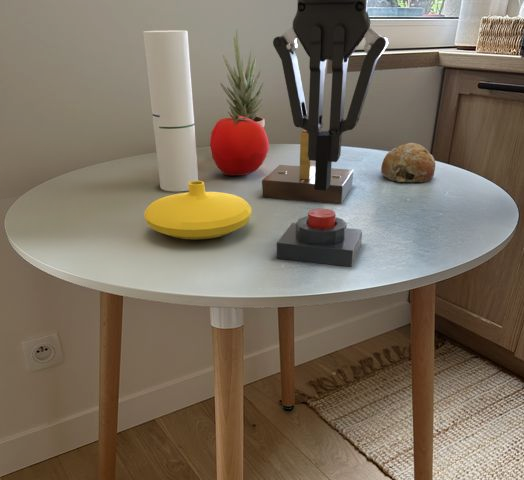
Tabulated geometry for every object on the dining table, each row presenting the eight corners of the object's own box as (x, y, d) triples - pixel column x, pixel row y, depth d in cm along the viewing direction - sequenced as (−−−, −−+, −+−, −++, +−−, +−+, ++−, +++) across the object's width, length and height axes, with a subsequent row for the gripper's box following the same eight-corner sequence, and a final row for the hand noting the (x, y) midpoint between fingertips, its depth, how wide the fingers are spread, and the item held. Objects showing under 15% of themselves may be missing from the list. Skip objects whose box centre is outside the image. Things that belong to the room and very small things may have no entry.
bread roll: (378, 198, 105) (383, 164, 99) (380, 163, 111) (384, 129, 104) (431, 200, 104) (439, 166, 97) (430, 165, 109) (438, 130, 103)
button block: (361, 244, 76) (363, 216, 74) (351, 266, 69) (354, 237, 67) (291, 237, 78) (292, 210, 76) (276, 258, 72) (276, 229, 70)
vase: (272, 235, 79) (272, 187, 75) (173, 259, 72) (167, 206, 68) (221, 207, 90) (218, 164, 86) (130, 225, 83) (124, 179, 79)
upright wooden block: (308, 169, 99) (310, 123, 95) (318, 169, 99) (320, 124, 94) (299, 179, 93) (300, 131, 89) (309, 179, 93) (311, 132, 89)
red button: (337, 222, 73) (338, 209, 72) (331, 231, 70) (332, 218, 69) (311, 220, 74) (311, 207, 73) (304, 228, 71) (305, 215, 70)
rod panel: (352, 186, 100) (353, 168, 99) (341, 204, 91) (342, 185, 90) (279, 180, 104) (279, 163, 102) (262, 197, 95) (261, 179, 93)
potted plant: (226, 148, 128) (221, 26, 115) (266, 149, 127) (266, 26, 114) (219, 158, 119) (213, 28, 106) (262, 159, 118) (261, 28, 105)
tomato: (225, 164, 115) (223, 107, 109) (276, 169, 111) (277, 110, 105) (200, 179, 105) (195, 117, 99) (254, 184, 102) (253, 121, 96)
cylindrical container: (183, 178, 106) (170, 30, 92) (206, 185, 101) (196, 30, 88) (152, 186, 101) (134, 31, 88) (175, 193, 97) (160, 32, 84)
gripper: (264, -41, 55) (265, 191, 68) (394, -45, 52) (369, 200, 64) (284, -37, 61) (281, 176, 74) (401, -40, 58) (377, 183, 71)
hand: (322, 187), depth 69 cm, fingers closed
